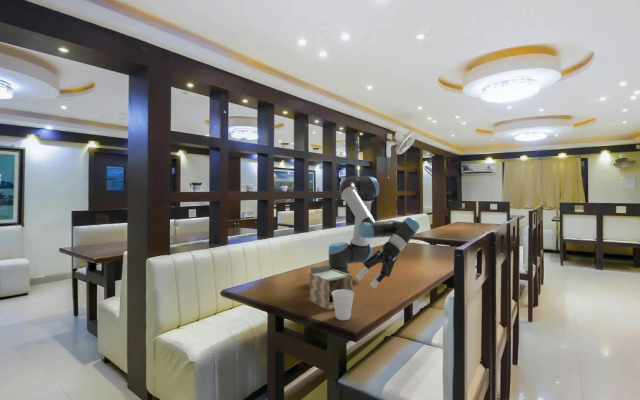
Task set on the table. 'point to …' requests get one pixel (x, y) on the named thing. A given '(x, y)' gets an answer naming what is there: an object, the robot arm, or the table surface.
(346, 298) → the cup
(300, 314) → the table surface
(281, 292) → the table surface
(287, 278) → the table surface
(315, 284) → the stand
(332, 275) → the flap
